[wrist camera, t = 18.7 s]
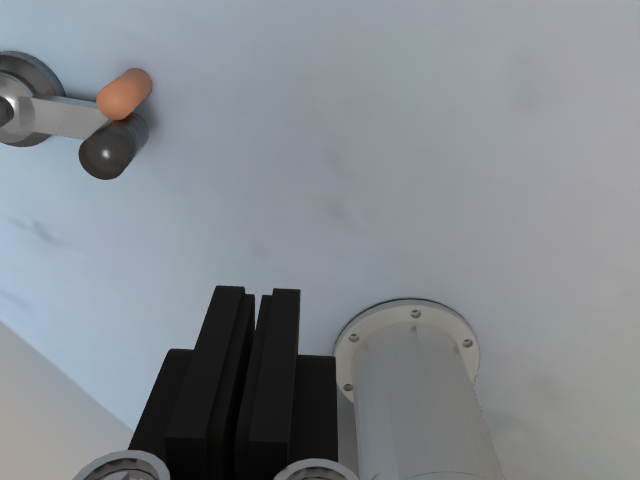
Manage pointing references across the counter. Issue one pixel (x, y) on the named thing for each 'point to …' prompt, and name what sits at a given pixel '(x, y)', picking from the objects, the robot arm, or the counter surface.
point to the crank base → (38, 78)
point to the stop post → (124, 94)
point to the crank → (70, 125)
